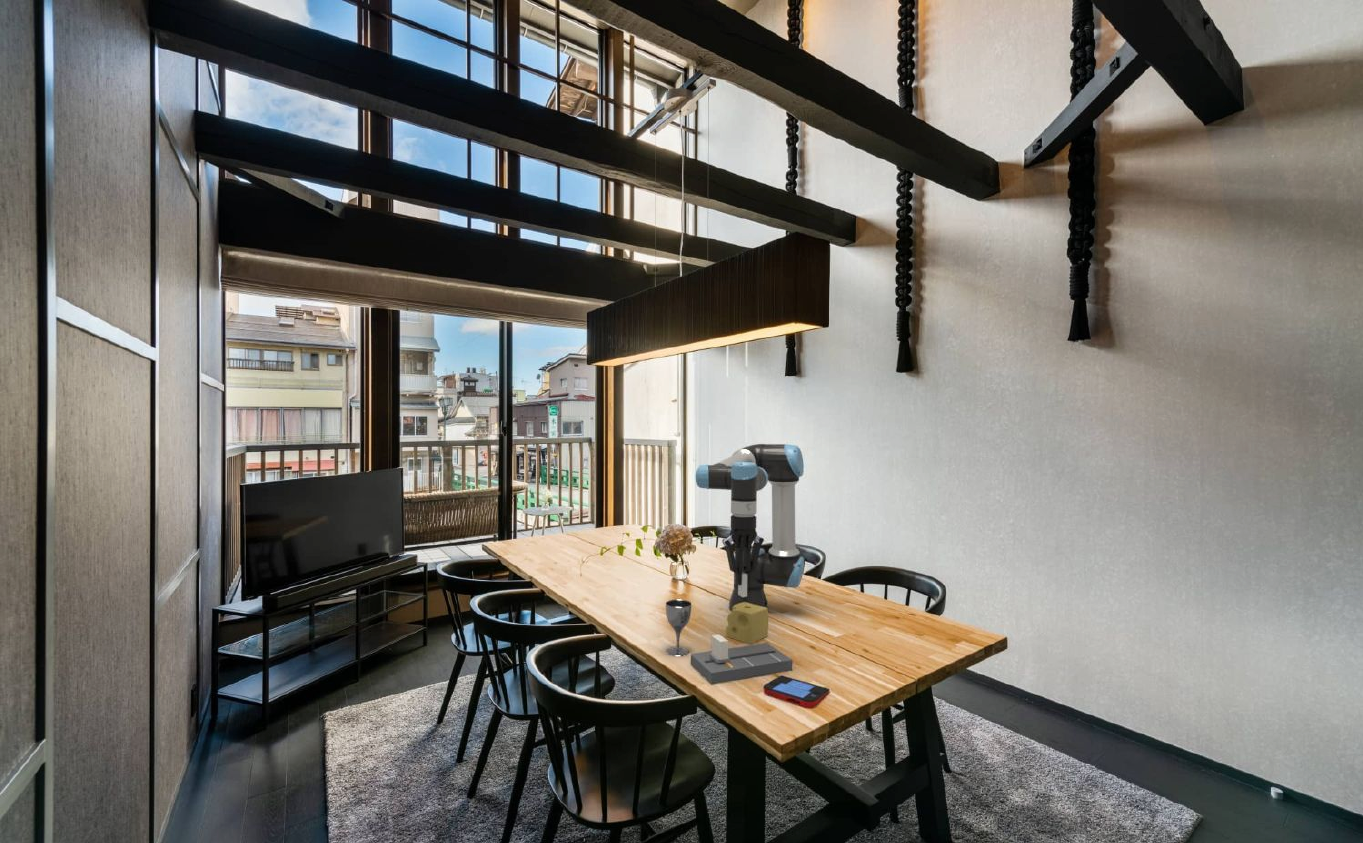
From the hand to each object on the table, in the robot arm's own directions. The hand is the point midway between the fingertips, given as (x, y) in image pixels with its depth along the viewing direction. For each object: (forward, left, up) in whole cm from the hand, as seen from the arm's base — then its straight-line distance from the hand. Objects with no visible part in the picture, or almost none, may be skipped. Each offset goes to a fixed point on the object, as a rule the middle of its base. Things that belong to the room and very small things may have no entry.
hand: (742, 595), depth 163 cm
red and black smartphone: (-6, +19, -21) cm, 29 cm away
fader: (+7, 0, -17) cm, 19 cm away
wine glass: (+13, -17, -21) cm, 30 cm away
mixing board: (0, 0, -21) cm, 21 cm away
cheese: (-14, -21, -21) cm, 33 cm away
